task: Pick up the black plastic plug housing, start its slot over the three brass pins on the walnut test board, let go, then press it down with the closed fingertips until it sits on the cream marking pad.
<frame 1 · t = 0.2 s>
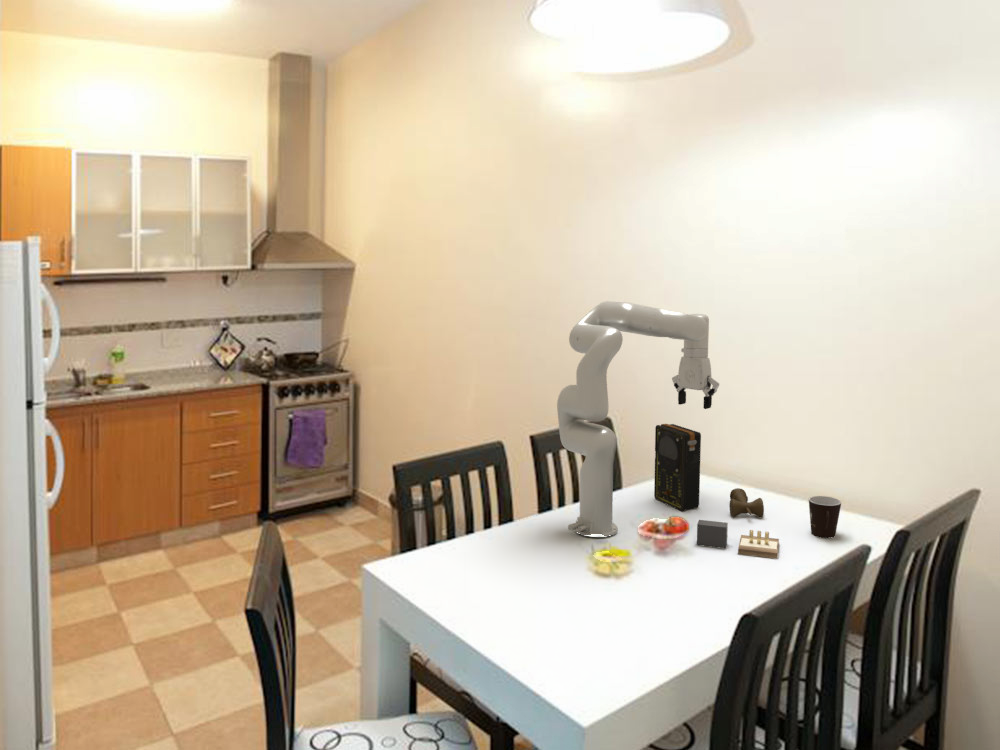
hand: (694, 406, 255), 31 cm above the table, tool pointing down, fingers open, 9 cm apart
voltmeter: (676, 504, 255), on the table
kendama: (743, 513, 247), on the table
pin board: (758, 549, 217), on the table
coffee mug: (821, 536, 226), on the table
plug housing: (711, 544, 221), on the table
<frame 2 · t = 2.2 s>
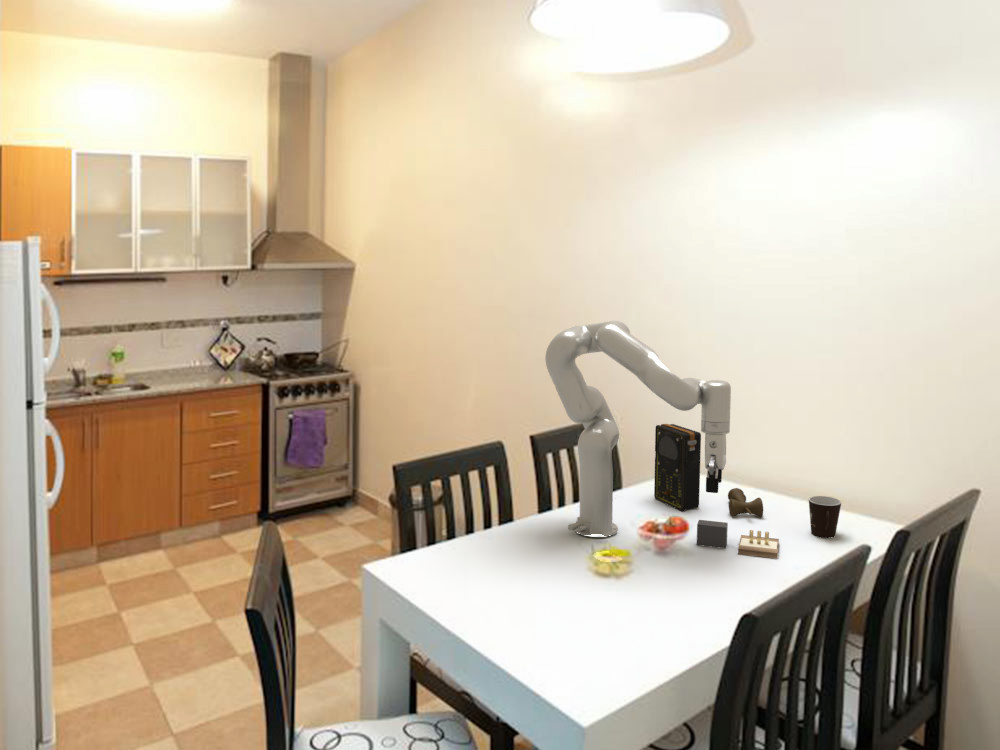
hand: (713, 487, 218), 16 cm above the table, tool pointing down, fingers open, 9 cm apart
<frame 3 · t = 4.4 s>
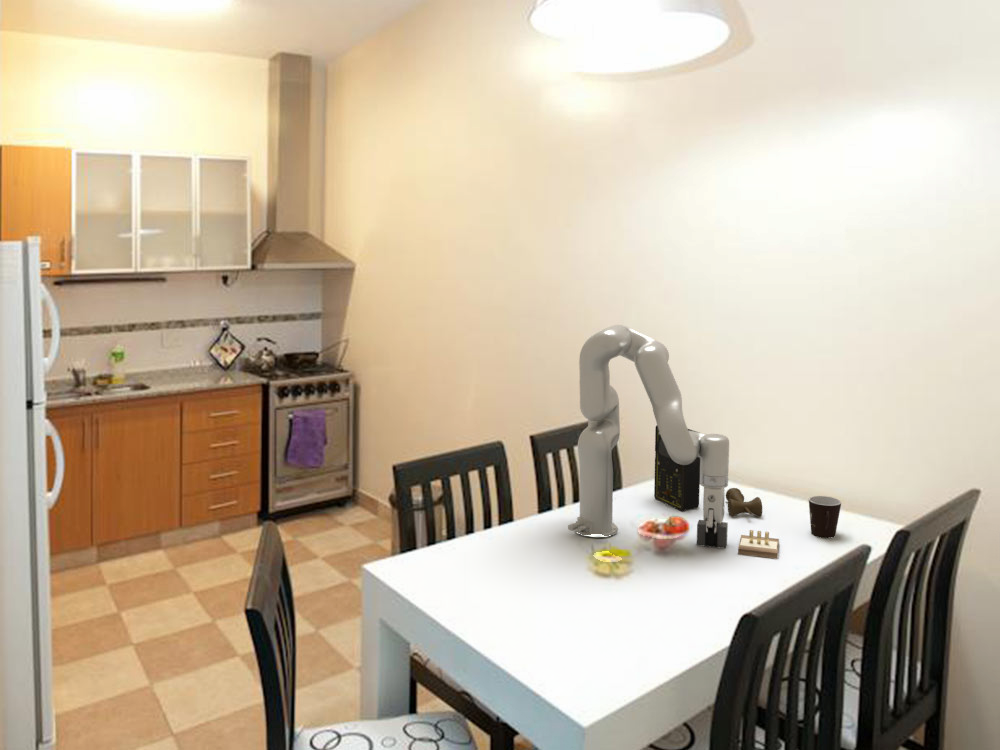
hand: (712, 542, 221), 1 cm above the table, tool pointing down, fingers closed on plug housing, 4 cm apart
plug housing: (711, 544, 221), on the table, touching gripper
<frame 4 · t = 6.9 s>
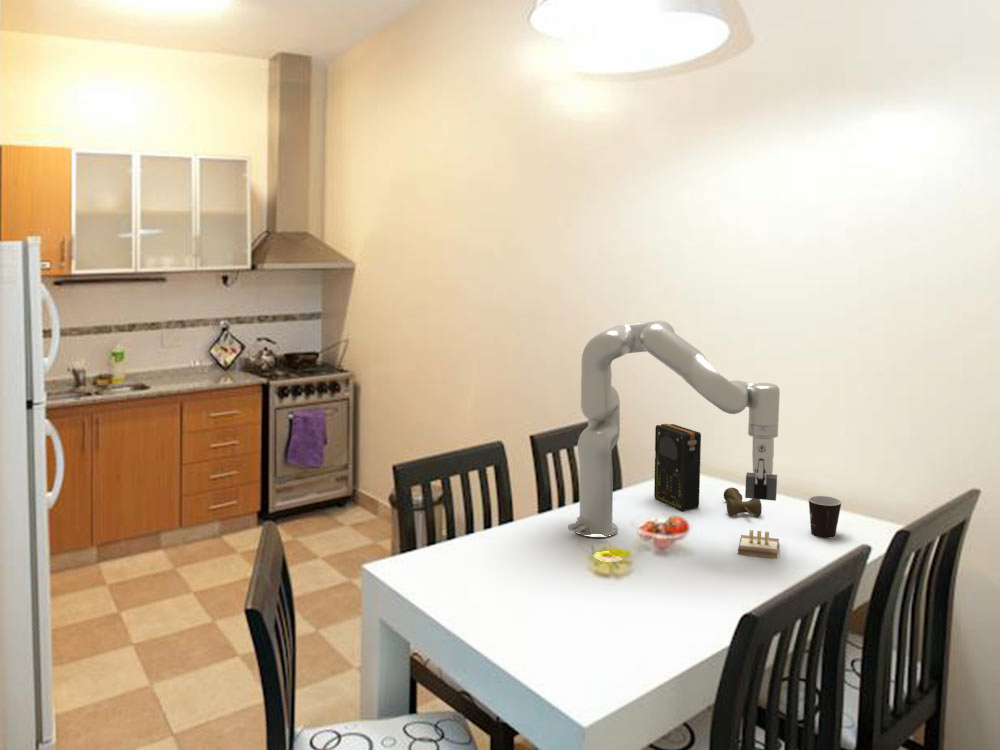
hand: (760, 495, 214), 15 cm above the table, tool pointing down, fingers closed on plug housing, 4 cm apart
plug housing: (760, 497, 214), point 15 cm above the table, touching gripper
when the fingers open (4 cm above the table, at t = 9.6 s): plug housing drops 2 cm, resting on pin board.
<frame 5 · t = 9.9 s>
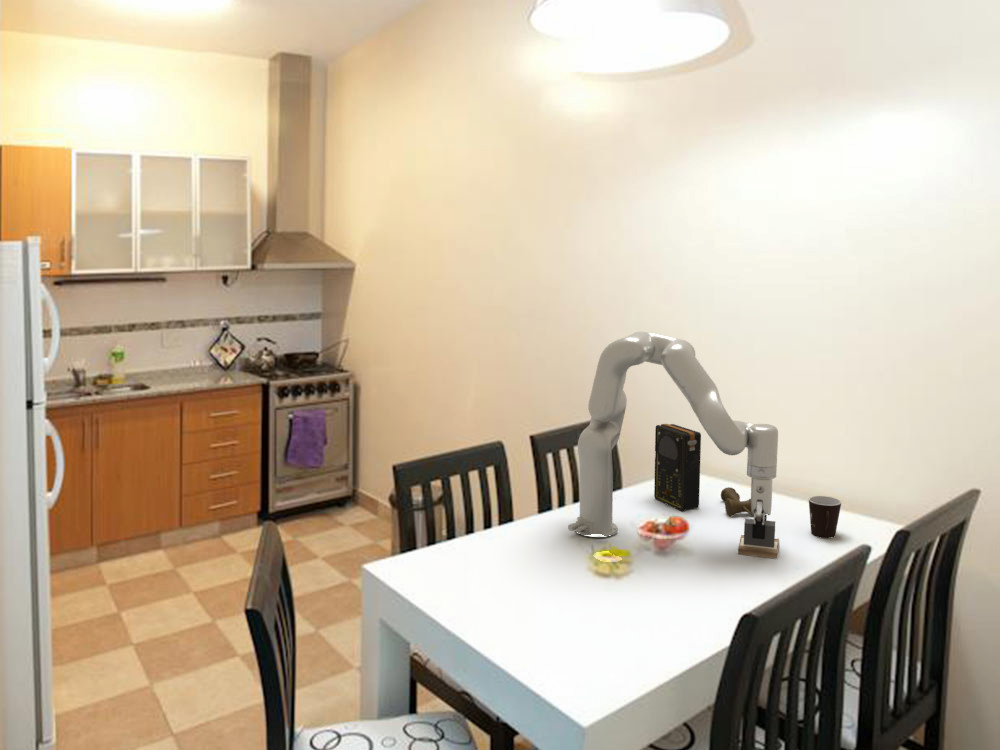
hand: (759, 532, 216), 5 cm above the table, tool pointing down, fingers open, 7 cm apart
plug housing: (759, 543, 217), point 2 cm above the table, touching pin board
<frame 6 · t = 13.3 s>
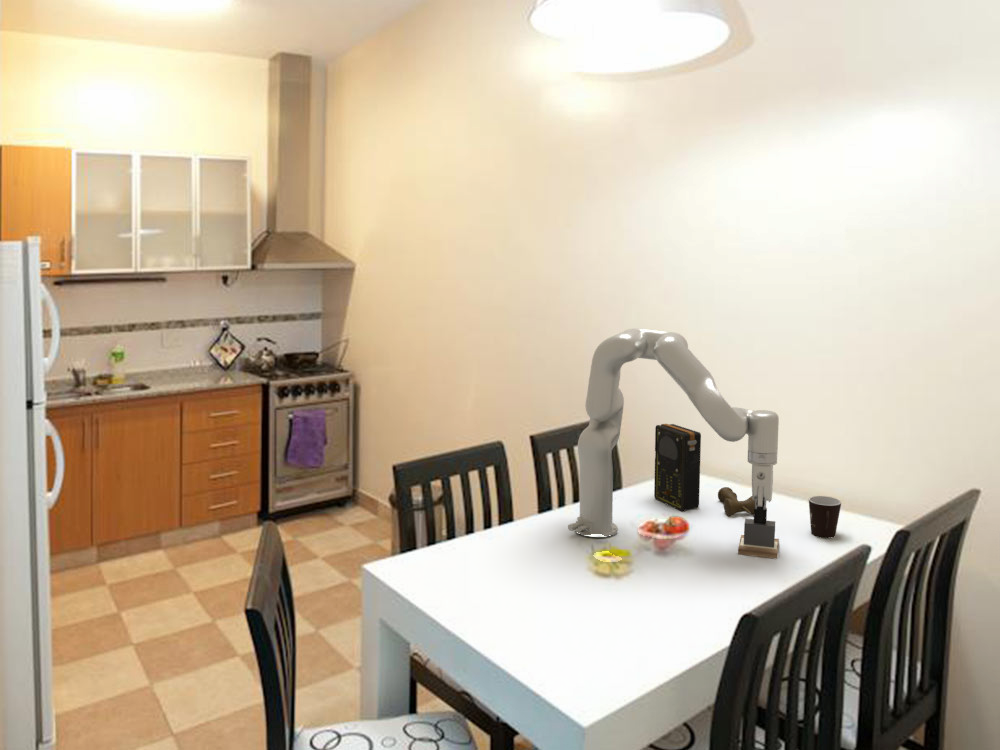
hand: (760, 522, 216), 8 cm above the table, tool pointing down, fingers closed
plug housing: (759, 543, 217), point 2 cm above the table, touching gripper, pin board
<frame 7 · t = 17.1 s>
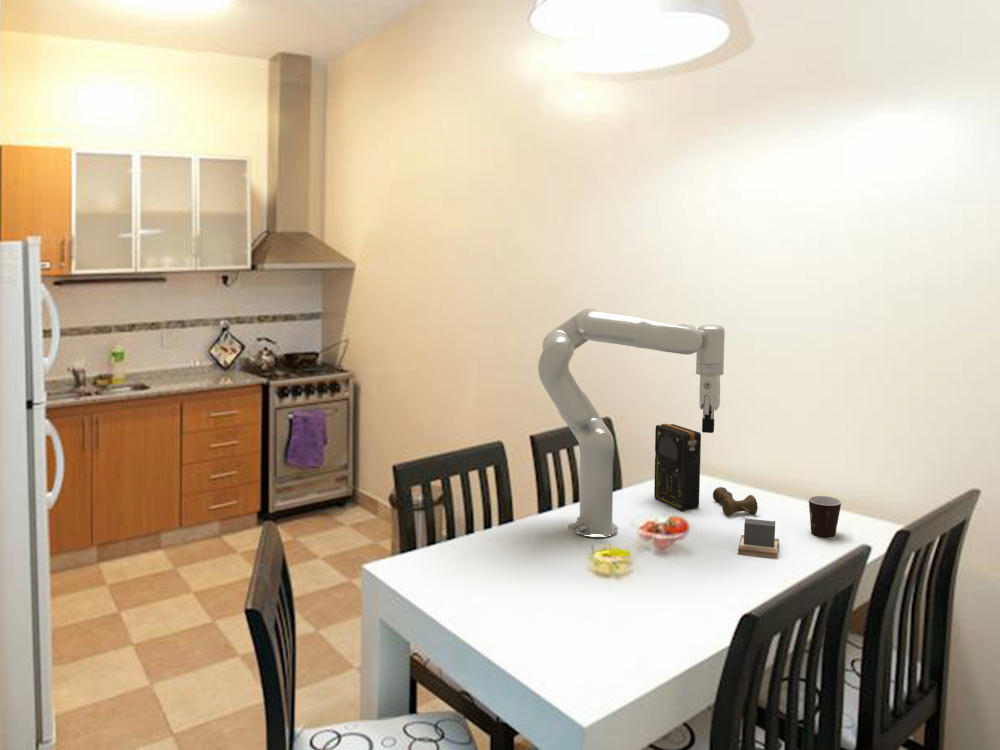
hand: (707, 431, 228), 29 cm above the table, tool pointing down, fingers closed
plug housing: (759, 543, 217), point 2 cm above the table, touching pin board
at the end: plug housing 0.1 cm off-centre on the pin board, point 1.6 cm above the pin board's base; plug housing tilted 0°; the gripper is holding nothing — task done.
